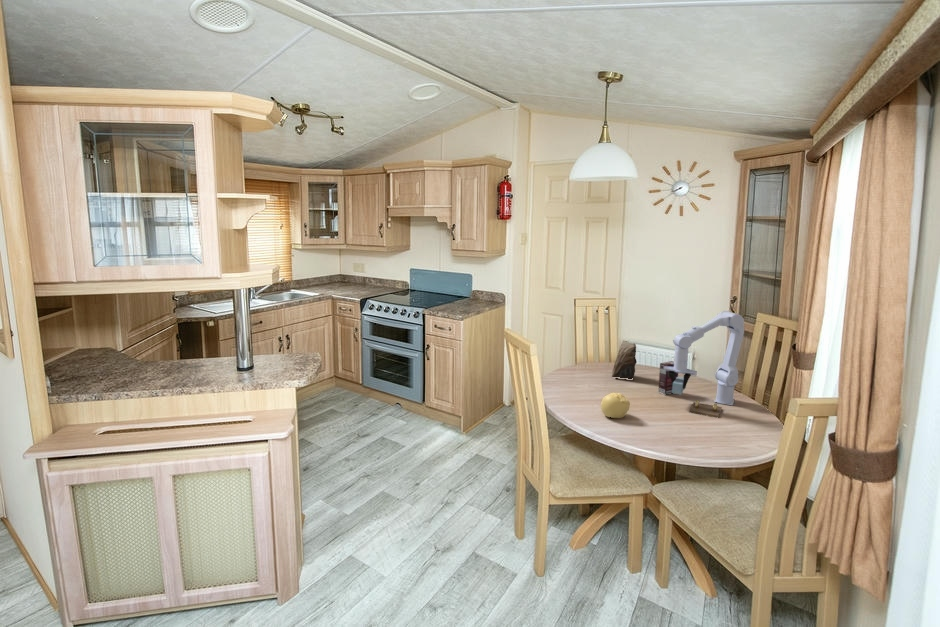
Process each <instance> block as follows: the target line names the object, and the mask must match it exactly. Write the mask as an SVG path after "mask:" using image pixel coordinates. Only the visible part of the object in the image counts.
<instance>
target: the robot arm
mask: <svg viewBox="0 0 940 627" xmlns="http://www.w3.org/2000/svg"><path fill="white" fill-rule="evenodd" d="M744 324H745V318H744V317H743V316H742V315H741V314H738V313H734V312H730V311H729V310H723V311H721V312H720V313H717V315H716V316H714V317H713V318H712V319H710V320H708V321H707V322H706V323H704V324H703V325H701V326H699V325H698V326H692V327H691V328H690V329H688V330H687V331H684V332H682V333H681V334H677V335H675V337H674V339H672V343H673V344H674V359H673V361H674V367H669V366H665V367H664V371H669V376H670V378H671V381H672V387H673V382H674V381H675V377H676V372H677V373H678V374H682V375H683V374H684V375H683V378H684V384H683V389H684V390H685V389H686V388H687V383H688V381H689V380H690V378H691V376H694V377H696V376H697V374H698V371H697V370H693V369H690V368H688V358H689V357H688V356H689V349H690V347H691V346H692V344H693V343H695V342H696V341H699V340H700V339H702V338H703V337H705V333H708V332H709V331H712V330H714V329H715V328H718V327H726V328H727V329H728V331H730V334H729V338H728V343H727V346H726V350H725V354H724V357H723V362H722V363H721V364H719V365H718V368H717V370H716V371H715V373H714V377H715V379H716V380H717V385H716V397H715V399H714V401H713V402H714V403H715V402H717V403H716V404H722V405H729V406H733V405H734V402H735V399H736V398H734V394H735V393H734V392H735V387H736V385H737V384H738V382H739V370H738V368H737V362H738V358H739V355H740V351H741V347H742V342H743V339H744V335H745V325H744Z"/></svg>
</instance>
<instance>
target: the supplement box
mask: <svg viewBox="0 0 940 627" xmlns="http://www.w3.org/2000/svg"><path fill="white" fill-rule="evenodd" d="M665 366H669V367H674V360H670V361H664V362H660V363H659V376H658V377H659V378H658V392H661V393H663V394H665V395H664V396H667V395H666V394H669V395H672V394H671V393H672V381H671V378H670V376H669V371H664V367H665ZM677 377H679V373H677V372H676V377H675V379H676V378H677ZM661 393H660V394H661ZM663 394H662V395H663Z"/></svg>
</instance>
